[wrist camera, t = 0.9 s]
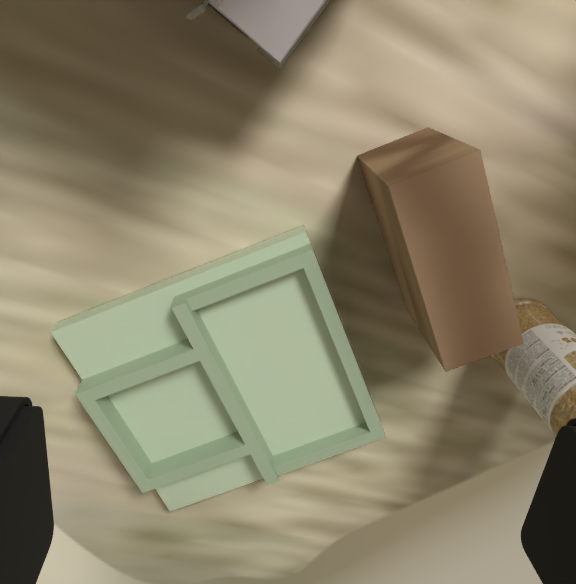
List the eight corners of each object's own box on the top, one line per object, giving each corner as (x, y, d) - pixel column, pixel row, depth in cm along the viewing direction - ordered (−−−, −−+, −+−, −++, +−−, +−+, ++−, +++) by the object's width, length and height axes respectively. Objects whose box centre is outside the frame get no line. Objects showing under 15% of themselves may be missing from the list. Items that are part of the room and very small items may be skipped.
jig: (303, 225, 30) (309, 240, 28) (381, 423, 36) (391, 450, 34) (57, 322, 32) (41, 345, 29) (172, 498, 38) (167, 529, 35)
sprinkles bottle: (564, 316, 34) (744, 467, 22) (517, 370, 36) (661, 540, 23) (511, 283, 33) (670, 423, 21) (464, 340, 34) (587, 503, 22)
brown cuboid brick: (427, 127, 29) (480, 150, 22) (469, 286, 33) (523, 343, 26) (356, 155, 29) (388, 186, 23) (406, 309, 33) (445, 371, 27)
